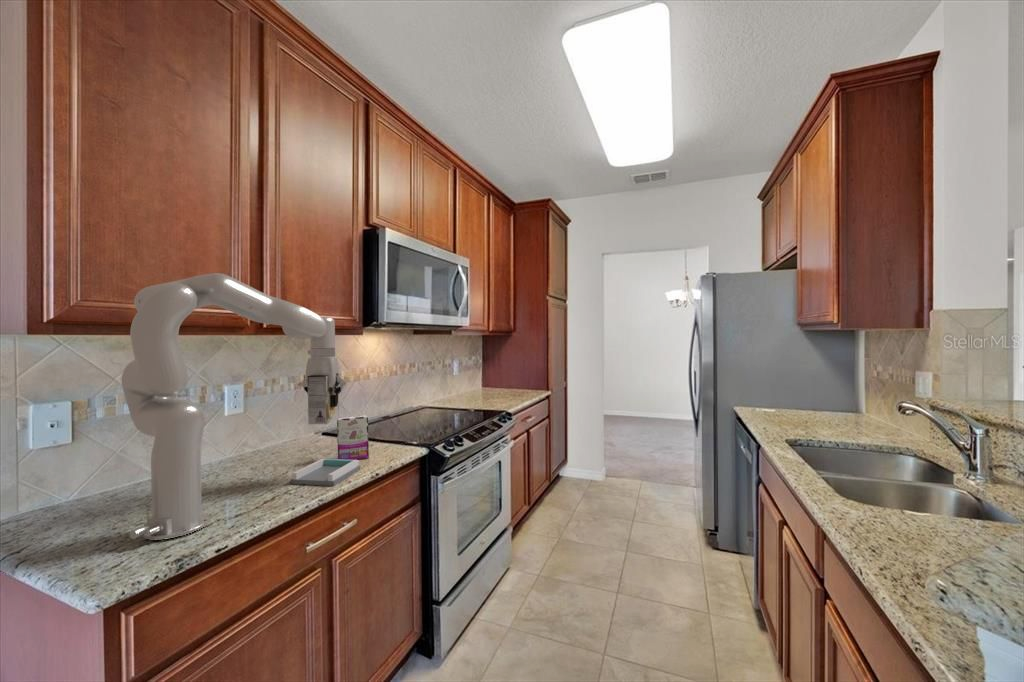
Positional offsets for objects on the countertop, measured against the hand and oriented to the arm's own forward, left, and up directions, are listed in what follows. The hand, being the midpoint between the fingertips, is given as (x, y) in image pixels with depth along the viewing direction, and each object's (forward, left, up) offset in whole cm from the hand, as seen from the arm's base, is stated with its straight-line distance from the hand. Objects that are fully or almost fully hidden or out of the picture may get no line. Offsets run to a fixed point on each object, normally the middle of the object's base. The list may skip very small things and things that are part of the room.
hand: (323, 406), depth 137 cm
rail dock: (0, -1, -24) cm, 24 cm away
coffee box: (0, 0, -5) cm, 5 cm away
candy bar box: (+20, +1, -24) cm, 32 cm away
